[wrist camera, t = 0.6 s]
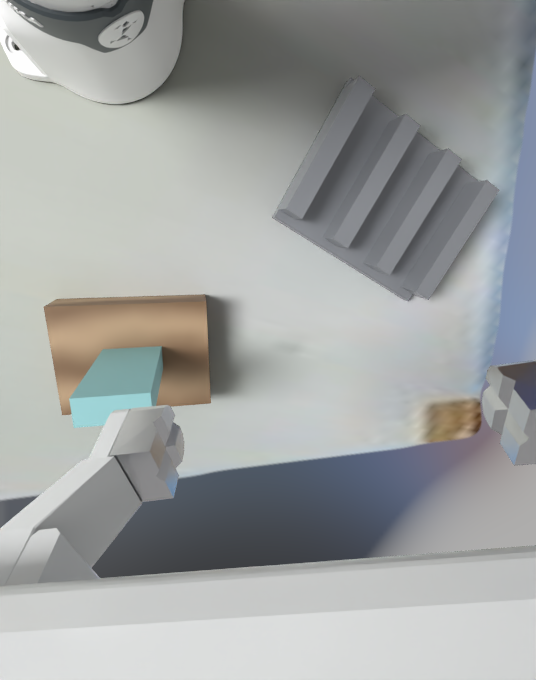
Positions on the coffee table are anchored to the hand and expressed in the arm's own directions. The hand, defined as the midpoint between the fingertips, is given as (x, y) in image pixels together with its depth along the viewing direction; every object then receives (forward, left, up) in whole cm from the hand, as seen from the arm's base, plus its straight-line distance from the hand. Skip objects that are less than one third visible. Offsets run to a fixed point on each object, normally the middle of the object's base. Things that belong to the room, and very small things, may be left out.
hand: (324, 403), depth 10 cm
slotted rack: (+3, +19, -37) cm, 42 cm away
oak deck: (+3, -14, -37) cm, 39 cm away
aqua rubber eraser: (+3, -14, -33) cm, 36 cm away
